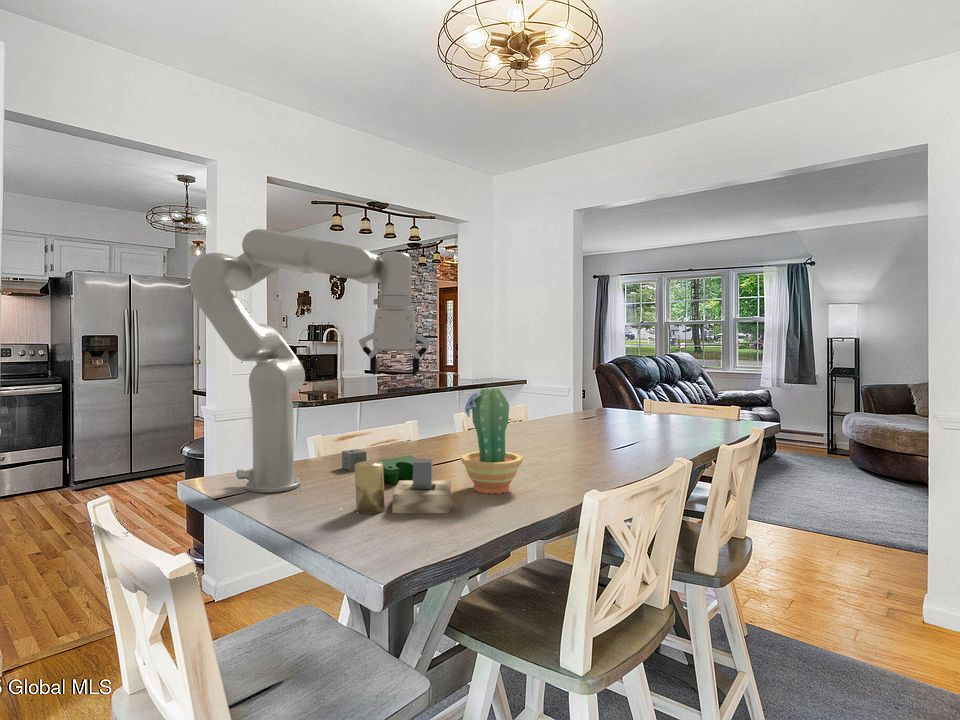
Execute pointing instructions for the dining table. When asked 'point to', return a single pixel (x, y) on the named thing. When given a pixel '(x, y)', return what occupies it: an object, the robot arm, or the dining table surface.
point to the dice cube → (352, 458)
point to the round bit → (369, 487)
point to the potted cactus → (490, 443)
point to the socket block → (422, 498)
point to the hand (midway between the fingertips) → (394, 374)
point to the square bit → (422, 474)
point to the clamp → (398, 468)
